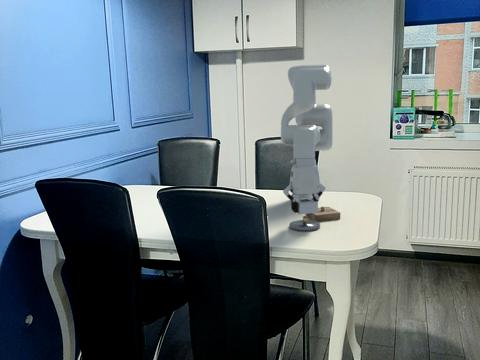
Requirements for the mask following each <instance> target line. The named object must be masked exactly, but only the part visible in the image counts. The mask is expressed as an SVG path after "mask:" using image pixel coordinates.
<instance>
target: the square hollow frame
mask: <svg viewBox="0 0 480 360" xmlns="http://www.w3.org/2000/svg"><path fill="white" fill-rule="evenodd" d="M296 202H297V213H296V214H298V215H306V214H309V213H318V208H319V205H318V204H319V201H318V202H317V201H315V200H313V199H311V198H300V199H296Z"/></svg>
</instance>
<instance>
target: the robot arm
mask: <svg viewBox="0 0 480 360" xmlns="http://www.w3.org/2000/svg"><path fill="white" fill-rule="evenodd" d="M287 77H288V82H289V84H290V86H291V88H292V92H293V95H292V96H293V98H292V101H293V102H292V103H290V105H289V106H287V108H286V109H285V110H284V112H283V114H282V116H281V121H280V122H281V123H280V140H281V141H280V142H282V144H283V145H284V146H292V148H293V158H292V159H290V161H289V163H290V164H291V165H292V167H291V170H290V176H289V177H290V178H289V184H288V186H286V187H285V189H283V190H282V192H283V194H284V195H285V196H286V197H287V199H289V200H290V205H291V206H290V209H291V211H292V212H293V213H295V214H298V213H297V202H296V199H300V198H311V199H313V200H315V201H317V202H318V203H319V201H320V197H321V196H322V195H323V193H324V192H325V190H326V187H325V186H324V185H323V184H322V183H321V180H320V173H319V167H318V165H317V161H316V152H320V151H321V152H323V151H325V152H326V151H329V150H331V149H332V147H333V136H334V135H333V109H332V107H331V106H330V105H329V104H326V103H325V104H324V103H319V104H316V103H317V101H316V100H317V99H316V91H319V90H320V91H324V90H329V89H330V88H331V86H332V79H333V78H332V72H331V68H330V66H329V65H327V64H306V65H305V64H304V65H302V64H301V65H294V66H291V67H289V69H288V70H287ZM293 119H295V123H296V124H289V123H290V122H291V121H292V120H293ZM319 127H321V128H319ZM289 192H290V193H291V194H290V193H289Z"/></svg>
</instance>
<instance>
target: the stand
mask: <svg viewBox="0 0 480 360" xmlns="http://www.w3.org/2000/svg"><path fill="white" fill-rule="evenodd" d="M305 216H307V217H308V218H309V219H310V220H313V221H317V222H325V221H333V220H341V211H338V210H336V209H334V208H332V207H330V206H320V207H318V213H309V214H305Z"/></svg>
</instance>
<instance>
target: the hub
mask: <svg viewBox="0 0 480 360" xmlns="http://www.w3.org/2000/svg"><path fill="white" fill-rule="evenodd" d="M307 217H308V216H306V215H303V216H302V219H298V220H293V221H291V222H289V229H290V230H293V231H296V232H314V231H318V230H319V229H320V228H321V223H320V221H315V220H313V219H307Z"/></svg>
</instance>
